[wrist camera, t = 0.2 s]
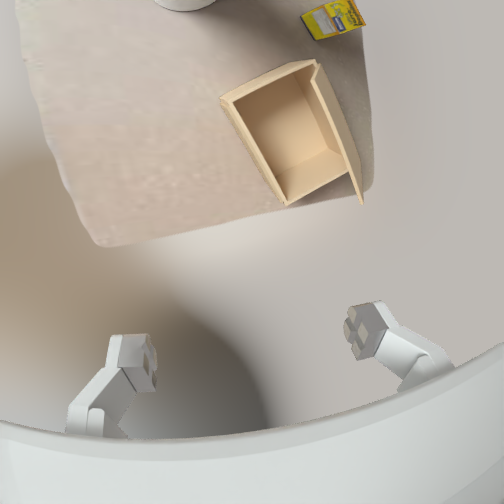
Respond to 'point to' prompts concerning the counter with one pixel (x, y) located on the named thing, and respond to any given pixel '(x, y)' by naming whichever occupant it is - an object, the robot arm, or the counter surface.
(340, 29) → the supplement box
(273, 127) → the carton
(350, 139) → the carton flap
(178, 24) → the counter surface
